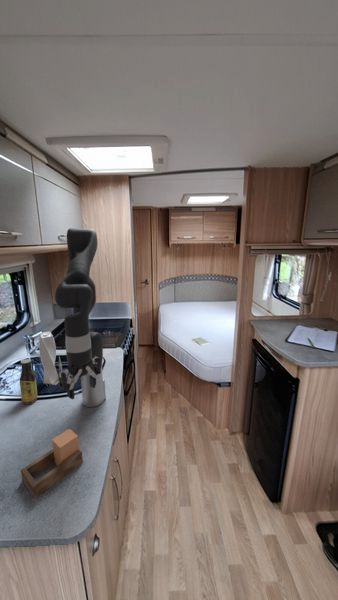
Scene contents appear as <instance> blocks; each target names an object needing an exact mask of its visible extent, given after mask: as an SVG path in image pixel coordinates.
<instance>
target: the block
mask: <svg viewBox="0 0 338 600" xmlns="http://www.w3.org/2000/svg"><path fill="white" fill-rule="evenodd" d="M51 442H52V449H53V452H54V460H55V462H54V463H55V464H56V467H57V466H58V465H60V464H61V463H62V462H64V461H65V460H67V459H68V458H69V457H71V456H72V455H74V454H75V453H76V452H78V451H79V450H80V447H79V436H78V435H77V434H76V433H75V432H74V431H73V430H71V429H70V428H68V429H67V430H65V431H63V432H62V433H60V434H59V435H57V436H56V437H54V438H52V439H51Z"/></svg>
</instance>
